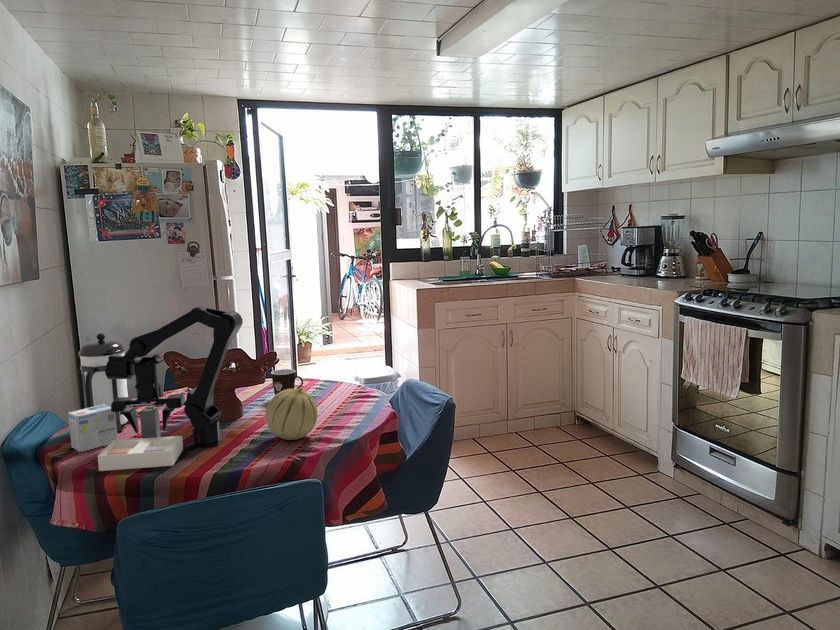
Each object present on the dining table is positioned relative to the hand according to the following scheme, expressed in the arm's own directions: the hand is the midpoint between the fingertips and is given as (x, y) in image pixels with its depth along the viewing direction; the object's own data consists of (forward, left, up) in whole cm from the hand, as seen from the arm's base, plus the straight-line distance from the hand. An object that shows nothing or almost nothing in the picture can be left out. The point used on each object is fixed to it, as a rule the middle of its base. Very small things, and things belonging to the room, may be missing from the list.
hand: (151, 431), depth 176 cm
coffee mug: (-36, -39, -4) cm, 53 cm away
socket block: (-1, +13, -4) cm, 14 cm away
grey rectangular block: (0, 0, -4) cm, 4 cm away
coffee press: (+17, -17, -4) cm, 24 cm away
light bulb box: (+16, -2, -4) cm, 17 cm away
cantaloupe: (-40, +4, -4) cm, 40 cm away
